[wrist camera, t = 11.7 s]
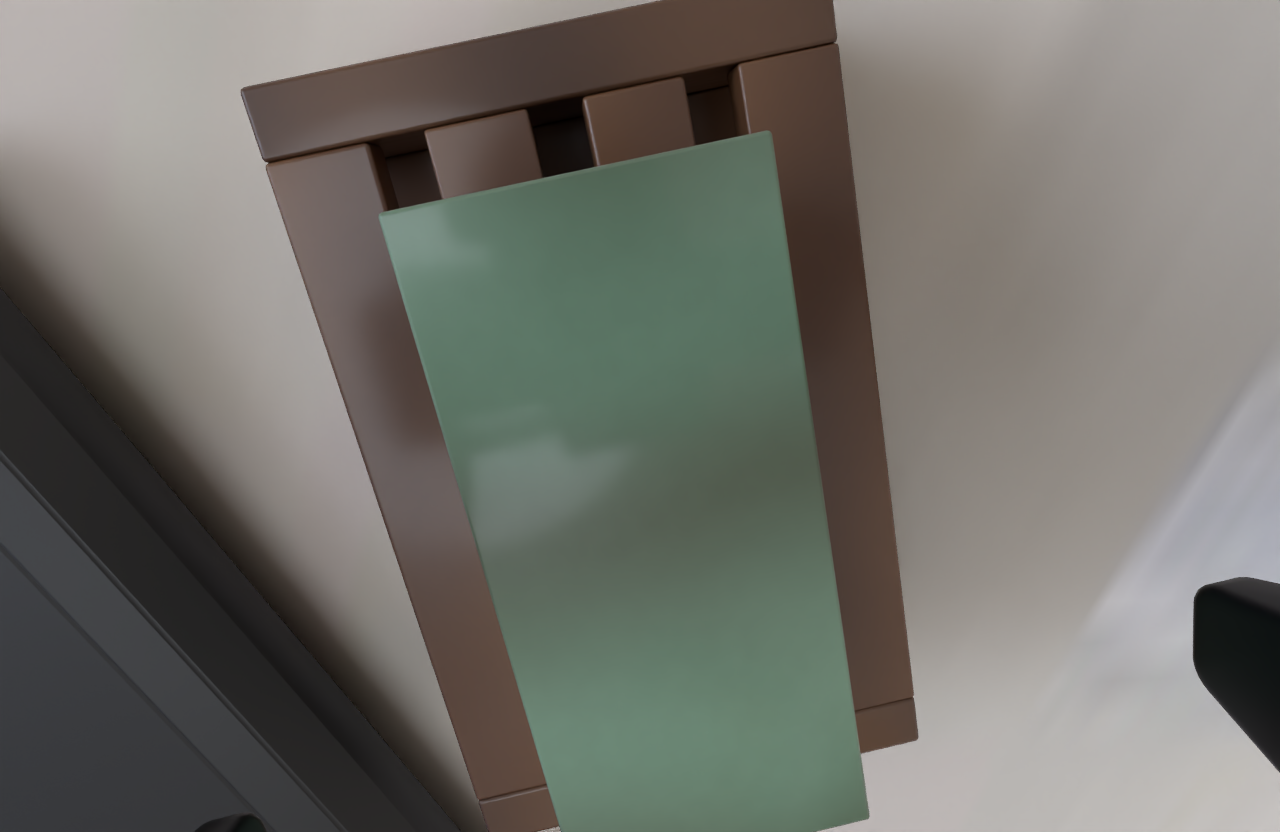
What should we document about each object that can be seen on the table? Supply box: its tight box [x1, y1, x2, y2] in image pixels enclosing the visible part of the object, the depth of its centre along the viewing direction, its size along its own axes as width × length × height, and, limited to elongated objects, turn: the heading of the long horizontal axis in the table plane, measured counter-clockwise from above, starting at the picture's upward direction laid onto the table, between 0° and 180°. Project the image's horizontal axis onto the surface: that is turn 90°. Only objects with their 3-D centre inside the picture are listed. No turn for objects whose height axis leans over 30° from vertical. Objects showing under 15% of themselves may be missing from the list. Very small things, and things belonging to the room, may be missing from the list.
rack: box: [241, 0, 918, 832], centre depth 17 cm, size 10×16×5 cm, turn 12°
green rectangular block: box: [379, 130, 869, 832], centre depth 13 cm, size 11×5×4 cm, turn 12°
